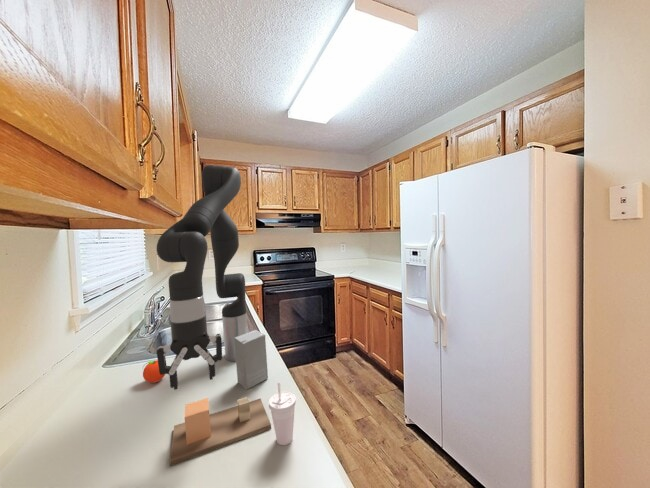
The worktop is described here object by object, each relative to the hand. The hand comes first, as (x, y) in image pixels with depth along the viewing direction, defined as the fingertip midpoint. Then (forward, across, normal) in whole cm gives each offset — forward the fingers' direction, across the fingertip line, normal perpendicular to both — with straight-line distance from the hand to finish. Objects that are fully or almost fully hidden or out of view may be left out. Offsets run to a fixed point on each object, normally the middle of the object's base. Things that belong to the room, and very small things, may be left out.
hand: (193, 382), depth 65 cm
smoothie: (+14, -18, +11) cm, 26 cm away
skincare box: (+14, -16, -18) cm, 28 cm away
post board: (+14, -6, 0) cm, 15 cm away
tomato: (+14, +14, -36) cm, 41 cm away
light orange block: (+13, 0, 0) cm, 13 cm away
